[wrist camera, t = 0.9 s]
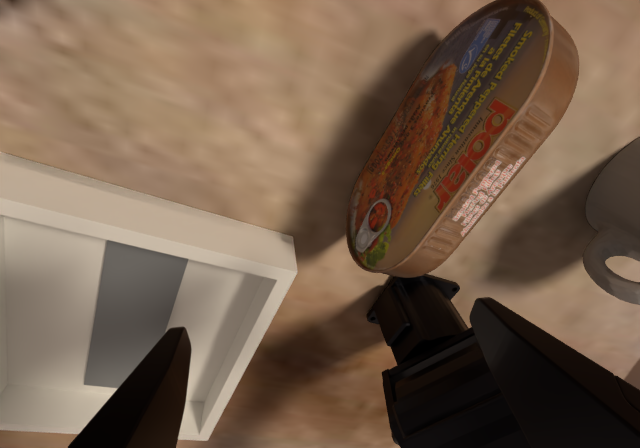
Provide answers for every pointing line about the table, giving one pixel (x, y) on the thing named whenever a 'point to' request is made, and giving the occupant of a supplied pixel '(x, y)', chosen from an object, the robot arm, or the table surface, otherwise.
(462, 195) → the tin
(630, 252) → the coffee mug
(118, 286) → the tray
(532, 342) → the robot arm
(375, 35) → the table surface
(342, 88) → the table surface
